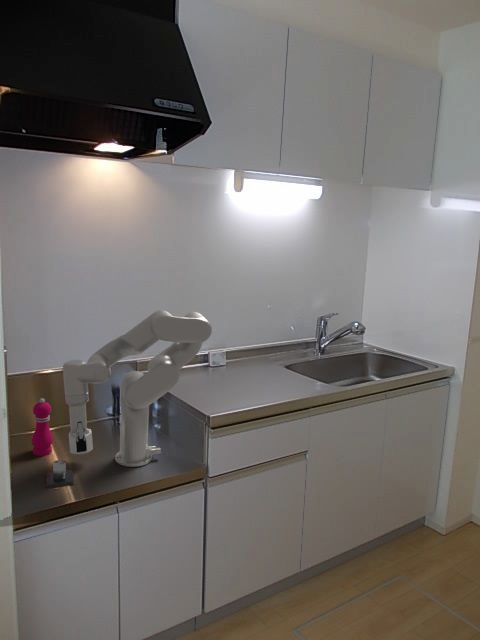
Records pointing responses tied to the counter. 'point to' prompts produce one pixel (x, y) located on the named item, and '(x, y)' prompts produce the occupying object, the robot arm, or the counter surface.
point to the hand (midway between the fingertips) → (80, 445)
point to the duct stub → (59, 475)
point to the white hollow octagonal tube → (73, 440)
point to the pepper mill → (42, 429)
